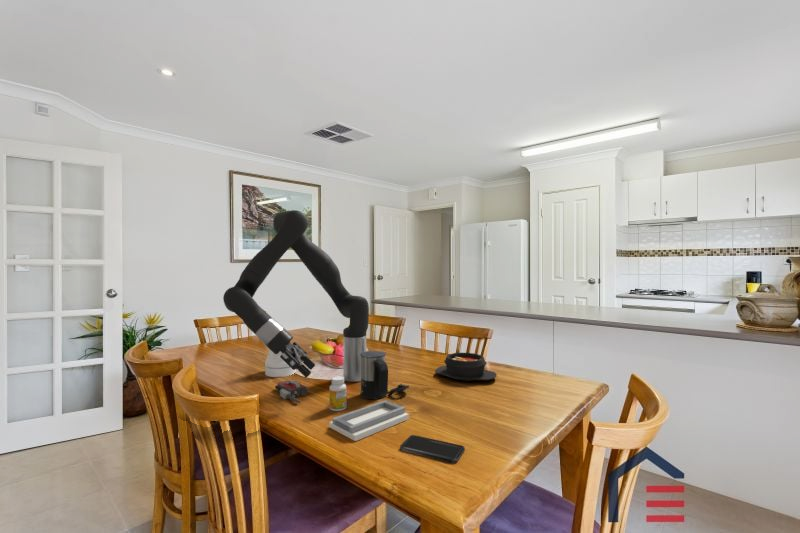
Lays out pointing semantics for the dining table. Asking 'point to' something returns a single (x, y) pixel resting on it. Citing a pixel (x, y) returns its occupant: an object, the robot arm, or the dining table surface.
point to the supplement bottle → (338, 394)
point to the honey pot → (277, 366)
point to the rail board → (369, 420)
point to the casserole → (465, 367)
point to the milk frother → (375, 376)
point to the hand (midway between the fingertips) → (311, 371)
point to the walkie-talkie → (291, 389)
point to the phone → (433, 448)
